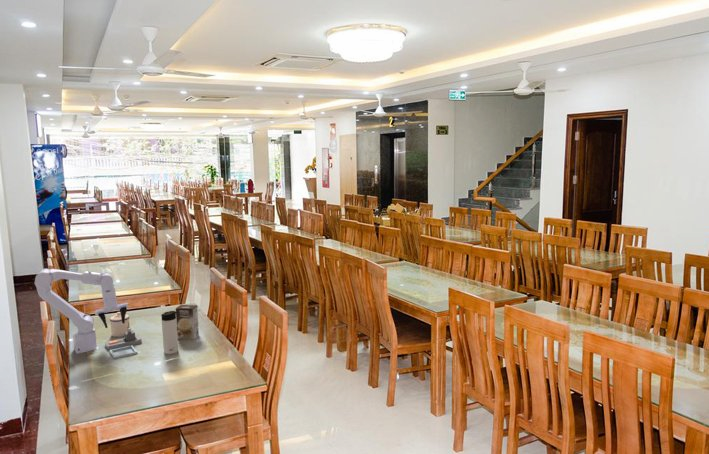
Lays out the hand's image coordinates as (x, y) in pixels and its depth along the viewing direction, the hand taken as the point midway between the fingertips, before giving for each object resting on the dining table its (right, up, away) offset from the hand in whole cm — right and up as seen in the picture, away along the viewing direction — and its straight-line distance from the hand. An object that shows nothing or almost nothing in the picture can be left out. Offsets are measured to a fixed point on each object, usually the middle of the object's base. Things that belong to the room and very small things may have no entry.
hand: (114, 325), depth 243 cm
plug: (+7, -10, +2) cm, 12 cm away
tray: (+9, -11, -10) cm, 18 cm away
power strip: (+4, -10, 0) cm, 11 cm away
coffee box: (+32, -8, +10) cm, 35 cm away
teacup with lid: (-6, -8, +18) cm, 20 cm away
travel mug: (+31, -11, -10) cm, 35 cm away
